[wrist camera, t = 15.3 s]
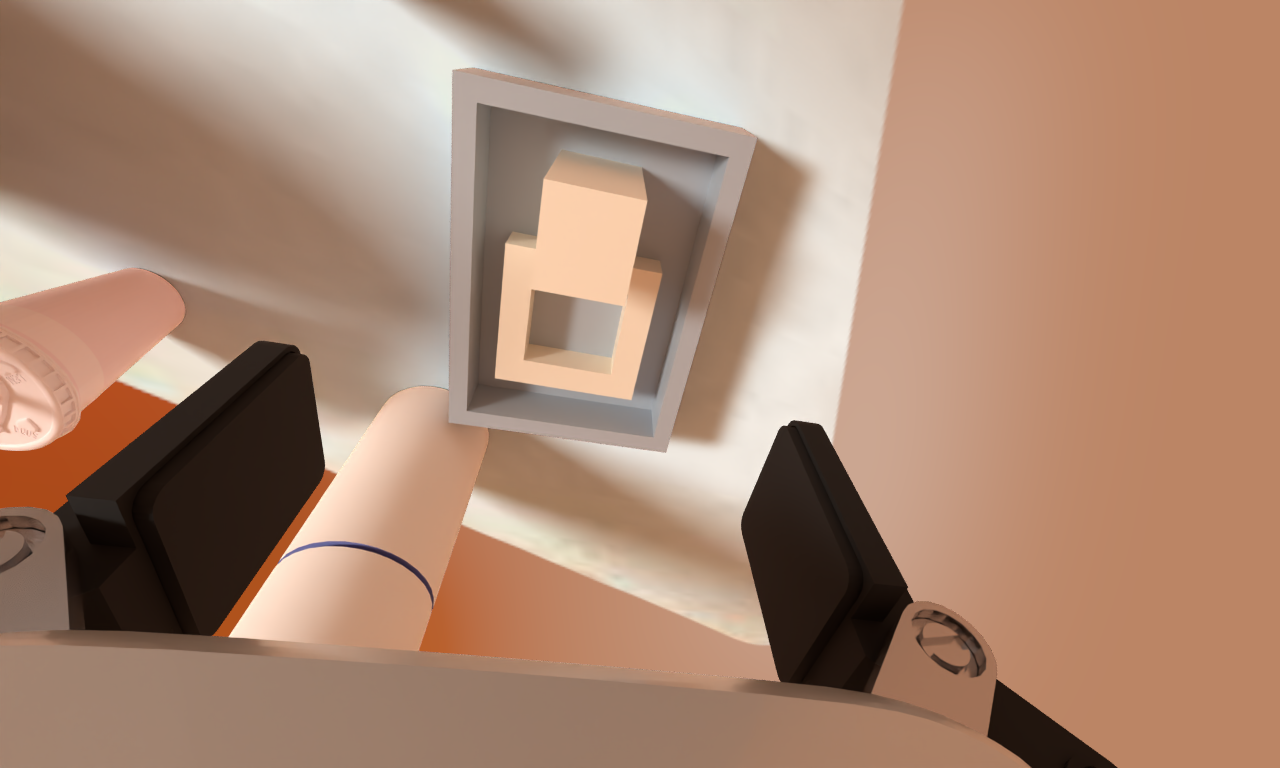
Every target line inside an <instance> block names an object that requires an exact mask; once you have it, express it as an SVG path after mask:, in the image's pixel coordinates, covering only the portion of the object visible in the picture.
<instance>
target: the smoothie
mask: <svg viewBox="0 0 1280 768" xmlns="http://www.w3.org/2000/svg"><path fill="white" fill-rule="evenodd" d="M184 317H185V305H184V302H183V300H182V298H181V296H180V294H179V293H178V292H177V290H176V289H175V288H174V287H173V286H172V285H171V284H170V283H169V282H168V281H166V280H165V279H163V278H162V277H160V276H159V275H157V274H155V273H153V272H150V271H147V270H144V269H139V268H127V269H123V270H119V271H115V272H112V273H108V274H104V275H100V276H97V277H93V278H89V279H85V280H82V281H78V282H74V283H71V284H67V285H63V286H59V287H56V288H52V289H48V290H44V291H41V292H37V293H33V294H29V295H26V296H22V297H18V298H15V299H11V300H7V301H3V302H0V449H2V450H13V451H24V450H33V449H37V448H41V447H44V446H46V445H48V444H50V443H51V442H53V441H54V440H55V439H57V438H59V437H62V436H63V435H65V434H67V433H68V432H70V431H72V430H73V429H74V427H75V426H76V424H77V423H78V422H79V420H80V414H81V411H82V410H83V409H84V408H85V407H86V406H88V405H89V404H90V403H91V402H93V401H94V400H95V399H96V398H97V397H98V396H99V395H100V394H101V393H102V392H104V391H105V390H106V389H107V388H108V387H109V386H110V385H111V384H112V383H114V382H115V381H116V380H117V379H118V378H119V377H120V376H122V375H123V374H124V373H125V372H126V371H127V370H128V369H129V368H131V367H132V366H133V365H134V364H135V363H136V362H137V361H138V360H140V359H141V358H142V357H143V356H144V355H145V354H146V353H147V352H149V351H150V350H151V349H152V348H153V347H154V346H155V345H157V344H158V343H159V342H160V341H161V340H162V339H163V338H164V337H166V336H167V335H168V334H169V333H170V332H171V331H172V330H173V329H175V328H176V327H177V326H178V325H179V324H180V323H181V322H182V321H183V319H184Z"/></svg>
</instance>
